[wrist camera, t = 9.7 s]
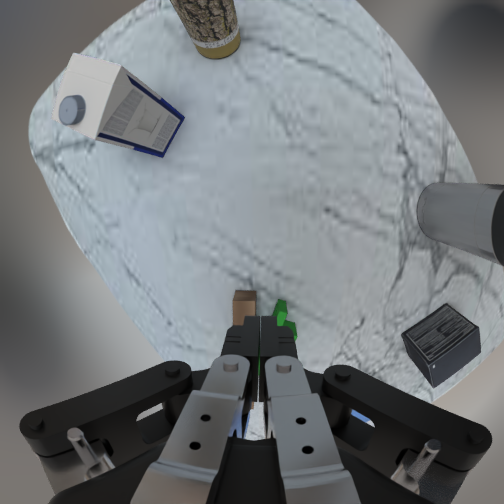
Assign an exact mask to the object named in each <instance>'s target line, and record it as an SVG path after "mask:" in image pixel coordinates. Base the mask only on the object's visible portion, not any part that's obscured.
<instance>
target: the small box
mask: <svg viewBox="0 0 504 504" xmlns="http://www.w3.org/2000/svg"><path fill="white" fill-rule="evenodd" d="M402 338H403V341H404V343H405V346H406V349H407V353H408V355H409V357H410V358H411V359H412V361H413V362H414V363H415V365H416V366H417V367H418V369H419V370H420V371H421V372H422V374H423V375H424V377H425V378H426V379H427V381H428V382H429V383H430V384H431V386H432V387H433V388H435V387H437V386H438V385H439V384H441V383H442V382H444V381H445V380H446V379H448V378H449V377H451V376H452V375H453V374H455V373H456V372H457V371H459V370H460V369H461V368H462V367H464V366H465V365H466V364H468V363H469V362H470V361H471V360H472V359H474V358H475V357H476V356H477V355H478V354H480V353H481V343H480V332H479V327H478V326H476V325H475V324H473V323H472V322H470V321H469V320H468V319H467V318H465V317H464V316H463V315H461V314H460V313H459V312H457V311H456V310H455V309H453V308H452V307H451V306H449V305H448V304H447V303H446V304H444V305H443V306H442V307H440V308H439V309H437V310H436V311H435V312H433V313H432V314H430V315H429V316H428V317H426V318H425V319H423V320H422V321H420V322H419V323H417V324H416V325H414V326H413V327H411V328H410V329H408V330H407V331H405V332H404V333H402Z"/></svg>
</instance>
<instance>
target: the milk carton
mask: <svg viewBox="0 0 504 504" xmlns="http://www.w3.org/2000/svg"><path fill="white" fill-rule="evenodd" d="M184 118H185V117H184V116H183V115H182V114H180V113H179V112H178V111H177V110H176V109H175V108H173V107H172V106H171V105H170V104H169V103H167V102H166V101H165V100H164V99H163V98H161V97H160V96H159V95H158V94H157V93H155V92H154V91H153V90H152V89H150V88H149V87H148V86H147V85H145V84H144V83H143V82H142V81H140V80H139V79H138V78H137V77H135V76H134V75H133V74H132V73H130V72H129V71H128V70H127V69H125V68H124V67H123V66H122V65H120V64H116V63H113V62H109V61H105V60H102V59H98V58H94V57H90V56H86V55H82V54H77V53H73V55H72V57H71V59H70V61H69V63H68V66H67V68H66V70H65V71H64V74H63V77H62V80H61V84H60V87H59V90H58V94H57V97H56V101H55V104H54V108H53V112H52V116H51V119H53V120H55V121H57V122H59V123H61V124H63V125H65V126H67V127H69V128H71V129H73V130H75V131H77V132H79V133H81V134H83V135H85V136H87V137H89V138H91V139H93V140H97V141H102V142H106V143H110V144H114V145H118V146H122V147H125V148H129V149H133V150H137V151H140V152H144V153H148V154H151V155H155V156H158V157H162V158H163V156H164V154H165V152H166V150H167V149H168V147H169V145H170V143H171V141H172V139H173V138H174V136H175V134H176V132H177V130H178V129H179V127H180V125H181V123H182V122H183V120H184Z"/></svg>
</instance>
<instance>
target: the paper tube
mask: <svg viewBox="0 0 504 504" xmlns="http://www.w3.org/2000/svg"><path fill="white" fill-rule="evenodd" d="M170 1H171V3H172V5H173V7H174V8H175V10H176V12H177V14H178V15H179V17H180V19H181V21H182V23H183V25H184V26H185V28H186V30H187V32H188V34H189V36H190V37H191V39H192V41H193V43H194V44H195V46H196V48H197V50H198V52H199V53H200V54H202V55H203V56H205V57H208V58H223V57H226V56H228V55H230V54H232V53H233V52H234V51H235V50H236V49H237V48H238V46H239V44H240V33H239V27H238V21H237V16H236V11H235V6H234V1H233V0H170Z"/></svg>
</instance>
